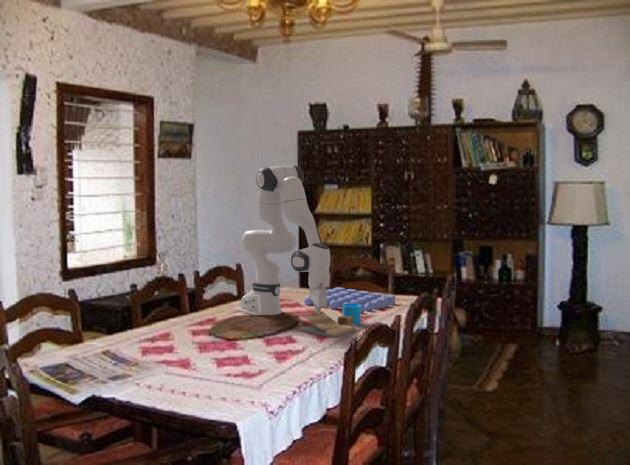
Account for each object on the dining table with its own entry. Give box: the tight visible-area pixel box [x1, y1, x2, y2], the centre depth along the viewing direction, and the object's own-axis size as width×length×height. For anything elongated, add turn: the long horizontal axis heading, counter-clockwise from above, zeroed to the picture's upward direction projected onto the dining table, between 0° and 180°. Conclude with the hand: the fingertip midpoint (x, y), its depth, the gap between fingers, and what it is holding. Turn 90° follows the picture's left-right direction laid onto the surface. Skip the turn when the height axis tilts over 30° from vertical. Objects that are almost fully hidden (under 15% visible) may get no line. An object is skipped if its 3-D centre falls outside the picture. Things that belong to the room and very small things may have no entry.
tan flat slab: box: [305, 310, 341, 333], centre depth 295 cm, size 11×12×1 cm
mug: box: [342, 303, 362, 326], centre depth 314 cm, size 12×8×8 cm
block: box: [337, 314, 354, 328], centre depth 302 cm, size 5×5×5 cm
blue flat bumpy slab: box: [303, 286, 396, 314], centre depth 354 cm, size 35×34×5 cm
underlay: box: [299, 323, 354, 339], centre depth 294 cm, size 18×14×2 cm
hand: (317, 313), depth 296 cm, fingers closed
